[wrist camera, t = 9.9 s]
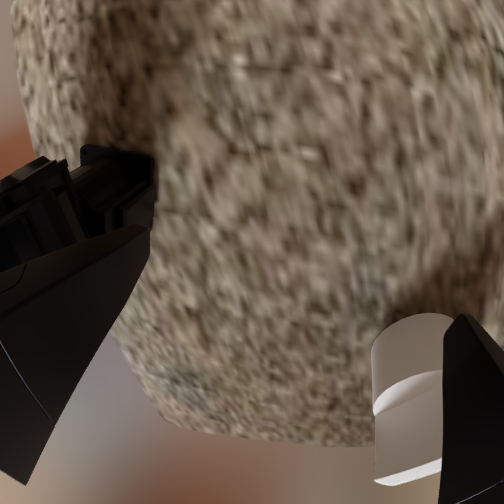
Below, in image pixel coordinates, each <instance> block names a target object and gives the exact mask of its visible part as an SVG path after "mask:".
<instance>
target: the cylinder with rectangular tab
mask: <svg viewBox="0 0 504 504" xmlns="http://www.w3.org/2000/svg"><path fill="white" fill-rule="evenodd" d="M453 321H454V320H453V319H452V318H451V317H448V316H446V315H443V314H438V313H423V314H415V315H412V316H409V317H406V318H403V319H401V320H399V321H397V322H395V323H393V324H391V325H390V326H389V327H387V328H386V329H385V330H384V331H382V332H381V333H380V335H379V336H378V337H377V339H376V340H375V341H374V344H373V346H372V349H371V362H372V387H373V413H374V415H375V462H374V481H375V482H377V483H380V484H383V485H389V486H395V485H399V484H402V483H406V482H409V481H412V480H416V479H418V478H422V477H424V476H428V475H431V474H434V473H436V472H439V471H441V464H442V442H443V398H442V372H443V337H444V334H445V332H446V330H447V329H448V328H449V326H450V325H451V324H452V322H453Z"/></svg>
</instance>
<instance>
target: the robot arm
mask: <svg viewBox="0 0 504 504" xmlns="http://www.w3.org/2000/svg"><path fill="white" fill-rule="evenodd" d="M86 150H87V152H86ZM80 160H81V166H80V167H78V168H76V169H75V170H73V171H71V172H69V171H68V168H67V167H68V163H67V160H66V158H65V159H62V160H60V161H56V160H53V161H50V160H49V159H47V158H46V157H44V156H41V157H39V158H37V159H36V160H34V161H32V162H30V163H28V164H26V165H24V166H23V167H21V168H19V169H17V170H16V171H14V172H13V173H11V174H9V175H8V176H6V177H4V178H3V179H1V180H0V470H1V471H2V472H4V473H5V474H7V475H8V476H10V477H11V478H13V479H15V480H16V481H18V482H20V483H21V484H23V485H26V484H27V483H28V481H29V478H30V476H31V474H32V472H33V470H34V468H35V465H36V464H37V461H38V459H39V457H40V455H41V453H42V451H43V449H44V447H45V445H46V443H47V441H48V439H49V437H50V435H51V433H52V431H53V429H54V427H55V425H56V423H57V421H58V419H59V417H60V415H61V414H62V412H63V410H64V408H65V406H66V404H67V402H68V401H69V399H70V397H71V395H72V393H73V392H74V390H75V388H76V386H77V384H78V383H79V381H80V379H81V377H82V376H83V374H84V372H85V370H86V369H87V367H88V365H89V363H90V362H91V360H92V358H93V357H94V355H95V353H96V351H97V350H98V348H99V346H100V345H101V343H102V341H103V340H104V338H105V337H106V335H107V333H108V332H109V330H110V328H111V327H112V325H113V324H114V322H115V320H116V319H117V317H118V316H119V314H120V312H121V311H122V309H123V308H124V306H125V304H126V303H127V301H128V299H129V297H130V295H131V293H132V291H133V289H134V287H135V285H136V283H137V281H138V279H139V277H140V275H141V273H142V271H143V269H144V267H145V265H146V263H147V261H148V259H149V255H150V231H151V229H152V218H153V217H154V196H155V187H154V185H153V171H154V159H153V157H152V156H151V155H148V154H143V153H137V152H132V151H126V150H120V149H115V148H109V147H103V146H96V145H90V144H86V145H84V146H82V147H81V149H80ZM145 160H147V161H148V164H146V163H145ZM442 398H443V442H442V464H441V479H440V489H439V498H438V504H504V351H503V350H502V349H501V348H500V347H499V345H498V344H497V343H496V342H495V341H494V340H493V339H492V337H491V336H490V335H489V334H488V333H487V332H486V331H485V330H484V328H483V327H482V326H481V325H480V324H479V323H478V322H477V321H476V320H475V319H474V318H473V317H472V316H471V315H468V314H464V313H460V314H459V315H457V317H456V318H455V319H454V321H453V322H452V324H451V325H450V326H449V328H448V329H447V330H446V332H445V334H444V337H443V372H442Z"/></svg>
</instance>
